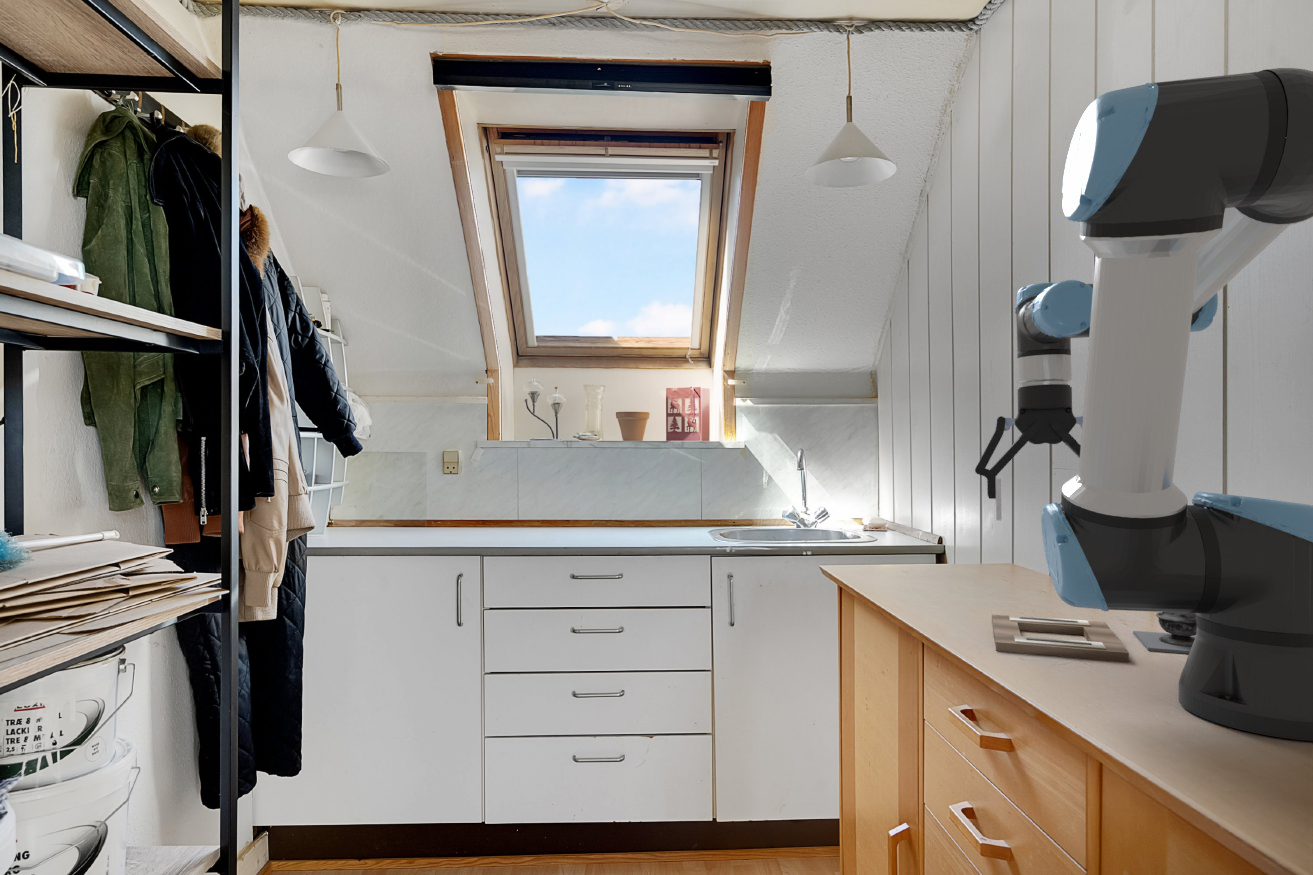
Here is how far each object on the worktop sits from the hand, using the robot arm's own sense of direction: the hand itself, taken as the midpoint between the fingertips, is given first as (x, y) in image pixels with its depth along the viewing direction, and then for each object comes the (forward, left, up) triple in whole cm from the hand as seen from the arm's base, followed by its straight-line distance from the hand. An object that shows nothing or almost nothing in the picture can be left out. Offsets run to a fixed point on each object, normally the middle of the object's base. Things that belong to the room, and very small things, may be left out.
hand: (1046, 520), depth 116 cm
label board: (-7, 0, -17) cm, 18 cm away
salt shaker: (-4, -17, -17) cm, 24 cm away
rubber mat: (-4, -17, -17) cm, 24 cm away
